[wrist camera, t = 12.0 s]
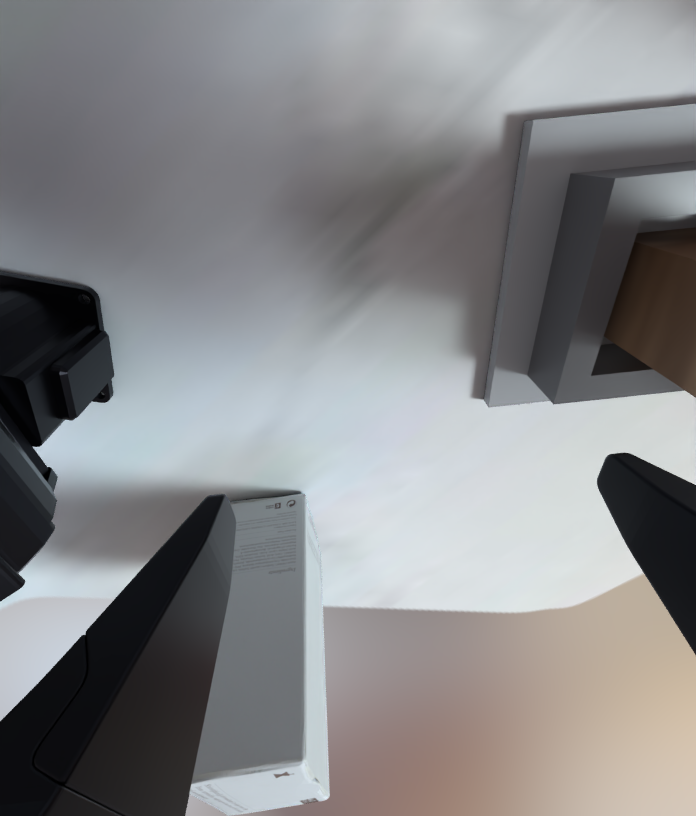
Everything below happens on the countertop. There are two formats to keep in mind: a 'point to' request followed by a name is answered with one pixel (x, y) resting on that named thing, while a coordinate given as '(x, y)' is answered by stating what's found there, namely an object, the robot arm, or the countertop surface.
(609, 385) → the socket
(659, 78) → the countertop surface
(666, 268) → the walnut peg
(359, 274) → the countertop surface
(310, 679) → the skincare box
